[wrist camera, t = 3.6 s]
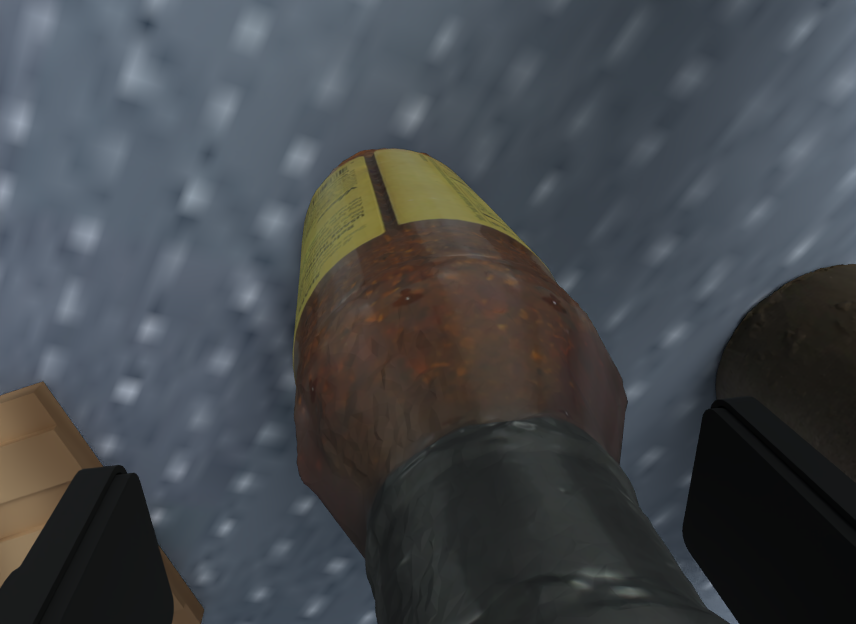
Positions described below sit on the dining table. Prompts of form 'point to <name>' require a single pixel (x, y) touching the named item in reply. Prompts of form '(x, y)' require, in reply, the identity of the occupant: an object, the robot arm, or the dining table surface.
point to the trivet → (50, 481)
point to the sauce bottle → (465, 414)
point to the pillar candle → (802, 360)
